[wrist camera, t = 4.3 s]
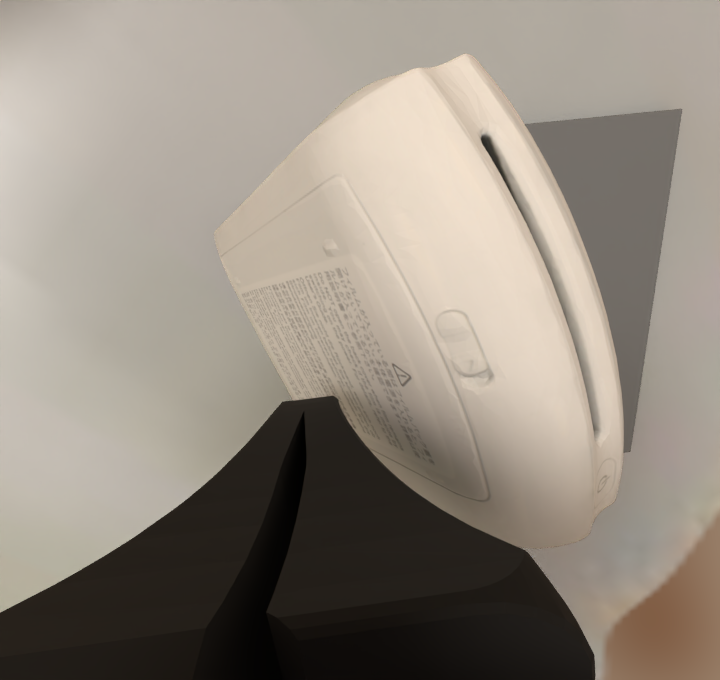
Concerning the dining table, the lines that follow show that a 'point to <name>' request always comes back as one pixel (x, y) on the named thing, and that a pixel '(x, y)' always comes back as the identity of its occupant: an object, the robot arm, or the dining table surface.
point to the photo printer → (440, 303)
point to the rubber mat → (618, 218)
